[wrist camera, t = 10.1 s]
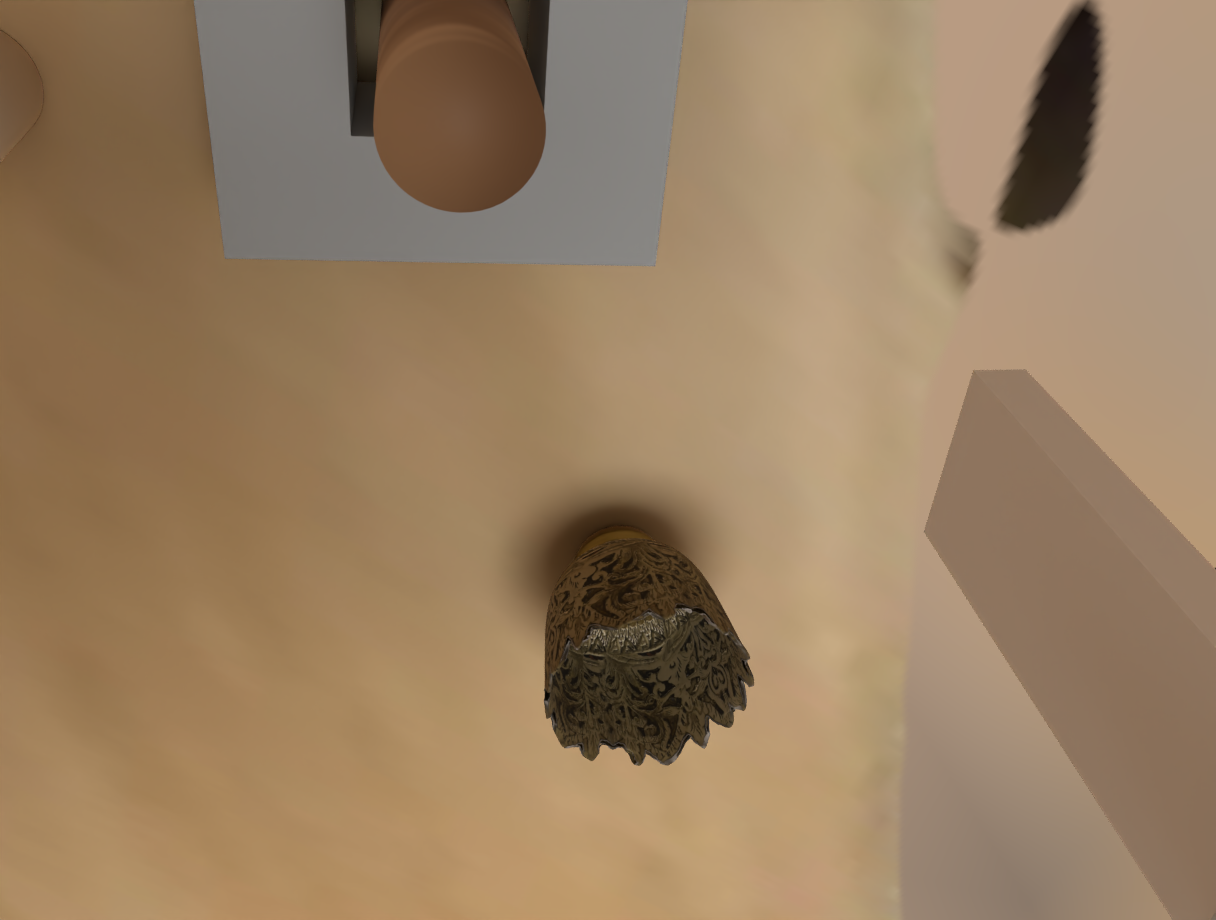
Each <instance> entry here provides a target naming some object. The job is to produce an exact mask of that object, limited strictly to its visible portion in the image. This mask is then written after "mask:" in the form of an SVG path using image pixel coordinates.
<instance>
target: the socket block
mask: <svg viewBox="0 0 1216 920" xmlns="http://www.w3.org/2000/svg"><path fill="white" fill-rule="evenodd" d="M687 2H688V0H529V20H528V42H527V62H528V65H529V67H530V70H531V73H532V76H533V79H534V82H535V85H536V88H537V90H538V93H539V96H540V99H541V102H542V106H543V109H544V113H545V120H546V139H545V146H544V150H543V154H542V157H541V159H540V162H539V164H538V167H537V168H536V170H535V172H534V174H533V175H532V177H531V178H530V179H529V181H528V182H527V183H526V184H525V185H524V186H523V187H522V189H521V190H520V191H519V192H517V193H516V194H515V195H513V196H512V197H511V198H509V199H508V200H506V201H504V202H503V203H501V204H499V205H496V206H494V207H492V208H488V209H485V210H482V211H476V212H466V213H457V212H448V211H443V210H438V209H435V208H433V207H430V206H427V205H425V204H423V203H421V202H419V201H417V200H416V199H414V198H413V197H411V196H410V195H408V194H407V193H406V192H405V191H404V190H402V189H401V188H400V187H399V186H398V185H397V184H396V183H395V181H394V180H393V179H392V178H391V176H390V175H389V174H388V172H387V171H386V169H385V167H384V165H383V163H382V162H381V159H380V157H379V154H378V151H377V148H376V144H375V140H374V131H373V118H374V103H375V90H376V82H358V78H357V54H356V30H355V6H354V0H194V7H195V15H196V23H197V32H198V40H199V48H200V57H201V65H202V73H203V82H204V90H205V98H206V106H207V115H208V123H209V131H210V140H211V148H212V156H213V165H214V173H215V181H216V189H217V198H218V206H219V214H220V223H221V231H222V239H223V248H224V256H225V259H276V260H333V261H389V262H446V263H503V264H560V265H617V266H655V264H656V256H657V247H658V239H659V231H660V223H661V215H662V206H663V198H664V190H665V182H666V174H667V166H668V157H669V149H670V141H671V133H672V125H673V116H674V108H675V100H676V92H677V84H678V75H679V67H680V59H681V51H682V43H683V34H684V26H685V18H686V10H687Z"/></svg>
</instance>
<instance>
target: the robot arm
mask: <svg viewBox="0 0 1216 920" xmlns="http://www.w3.org/2000/svg"><path fill="white" fill-rule="evenodd" d="M924 532H925V534H926V536H927V537H928V539H929V540H930V542H931V544H932V545H933V547H934V548H935V550H936V551H937V553H938V555H939V556H940V558H941V559H942V561H943V562H944V564H945V565H946V567H947V569H948V570H949V572H950V573H951V575H952V576H953V578H954V579H955V581H956V583H957V584H958V586H959V587H960V589H961V590H962V592H963V594H964V595H965V596H966V598H967V599H968V601H969V603H970V604H971V606H972V608H973V609H974V611H975V612H976V614H977V615H978V617H979V619H980V620H981V622H982V623H983V625H984V626H985V628H986V629H987V631H988V633H989V634H990V636H991V637H992V639H993V640H994V642H995V643H996V645H997V647H998V648H999V650H1000V651H1001V653H1002V654H1003V656H1004V657H1005V659H1006V660H1007V662H1008V663H1009V665H1010V667H1011V668H1012V669H1013V672H1014V673H1015V675H1016V676H1017V678H1018V679H1019V681H1020V682H1021V684H1022V686H1023V687H1024V689H1025V690H1026V692H1027V693H1028V695H1029V696H1030V698H1031V700H1032V701H1033V703H1034V704H1035V706H1036V707H1037V709H1038V711H1039V712H1040V714H1041V715H1042V717H1043V718H1044V720H1045V721H1046V723H1047V725H1048V726H1049V728H1050V729H1051V731H1052V732H1053V734H1054V736H1055V737H1056V739H1057V740H1058V742H1059V743H1060V745H1061V746H1062V748H1063V749H1064V751H1065V752H1066V754H1067V756H1068V757H1069V759H1070V761H1071V762H1072V764H1073V765H1074V767H1075V768H1076V769H1077V771H1078V773H1079V775H1080V776H1081V778H1082V779H1083V781H1084V782H1085V784H1086V785H1087V787H1088V789H1089V790H1090V792H1091V793H1092V795H1093V796H1094V798H1095V799H1096V801H1097V803H1098V804H1099V806H1100V807H1101V809H1102V810H1103V812H1104V814H1105V815H1106V817H1107V818H1108V820H1109V821H1110V823H1111V824H1112V826H1113V827H1114V829H1115V830H1116V832H1117V834H1118V835H1119V837H1120V839H1121V840H1122V842H1123V843H1124V845H1125V846H1126V848H1127V849H1128V851H1129V852H1130V854H1131V856H1132V857H1133V859H1134V860H1135V862H1136V863H1137V865H1138V867H1139V868H1140V870H1141V871H1142V873H1143V874H1144V876H1145V878H1146V879H1147V881H1148V882H1149V884H1150V885H1151V887H1152V888H1153V890H1154V892H1155V893H1156V895H1157V896H1158V898H1159V899H1160V901H1161V902H1162V904H1163V906H1164V907H1165V909H1166V910H1167V912H1168V913H1169V915H1170V916H1171V918H1172V920H1216V568H1214V567H1213V566H1212V565H1211V564H1210V563H1209V562H1208V561H1207V560H1206V559H1205V558H1204V557H1203V555H1202V554H1201V553H1199V551H1198V550H1197V549H1196V548H1195V547H1194V546H1193V545H1192V544H1191V543H1190V542H1189V541H1188V540H1187V539H1186V538H1185V537H1184V536H1183V534H1181V532H1180V531H1179V530H1178V529H1177V528H1176V527H1175V526H1174V525H1173V524H1172V523H1171V522H1170V521H1169V520H1168V519H1167V518H1166V517H1165V516H1164V515H1163V514H1162V512H1161V511H1160V510H1159V509H1158V508H1157V507H1156V506H1155V505H1154V504H1153V503H1152V502H1151V501H1150V500H1149V499H1148V498H1147V497H1146V496H1145V495H1144V493H1143V492H1142V491H1141V490H1140V489H1139V488H1138V487H1137V486H1136V485H1135V484H1134V483H1133V482H1132V481H1131V480H1130V479H1129V478H1128V477H1127V476H1126V475H1125V473H1124V472H1123V471H1122V470H1121V469H1120V468H1119V467H1118V466H1117V465H1116V464H1115V463H1114V462H1113V461H1112V460H1111V459H1110V458H1109V457H1108V456H1107V455H1106V454H1105V452H1103V450H1102V449H1101V448H1100V447H1099V446H1098V445H1097V444H1096V443H1095V442H1094V441H1093V440H1092V439H1091V438H1090V437H1089V436H1088V435H1087V434H1086V432H1084V430H1082V428H1081V427H1080V426H1079V425H1078V424H1077V423H1076V422H1075V421H1074V420H1073V419H1072V418H1071V417H1070V416H1069V415H1068V414H1067V413H1066V411H1065V410H1064V409H1062V407H1061V406H1060V405H1059V404H1058V403H1057V402H1056V401H1055V400H1054V399H1053V398H1052V397H1051V396H1050V395H1049V394H1048V393H1047V392H1046V390H1044V388H1043V387H1042V386H1041V385H1040V384H1039V383H1038V382H1037V381H1036V380H1035V379H1034V378H1033V377H1032V376H1031V375H1030V374H1029V373H1028V372H1027V370H1025V369H1024V370H973V373H972V376H971V379H970V383H969V386H968V389H967V393H966V396H965V399H964V402H963V406H962V409H961V412H960V416H959V419H958V422H957V425H956V428H955V432H954V435H953V438H952V442H951V445H950V448H949V451H948V455H947V458H946V461H945V465H944V468H943V471H942V474H941V477H940V481H939V484H938V487H937V491H936V494H935V497H934V500H933V504H932V507H931V510H930V513H929V517H928V520H927V523H926V526H925V530H924Z"/></svg>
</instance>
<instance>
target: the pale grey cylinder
mask: <svg viewBox="0 0 1216 920" xmlns="http://www.w3.org/2000/svg"><path fill="white" fill-rule="evenodd" d="M43 101H44V91H43V84H42V81H41V77H40V74H39V72H38V70H37V68H36V66H35V64H34V62H33V60H32V59H31V58H30V56H29V55H28V53H27V52H26V51H25V50H24V49H23V48H22V46H20V45H19V44H18V43H17V42H16V41H15V40H14V39H13V38H11V37H10V36H9V35H7V34H6V33H4V32H3V31H1V30H0V162H1V161H2V160H3V159H4V158H5V157H6V156H7V154H8V153H9V152H10V151H11V150H12V149H13V148H14V146H15V145H16V144H17V143H18V142H19V141H20V140H21V139H22V137H23V136H24V135H25V134H26V133H27V132H28V131H29V130H30V128H31V127H32V126H33V125H34V124H35V122H36V121H37V119H38V117H39V116H40V113H41V110H42V107H43Z"/></svg>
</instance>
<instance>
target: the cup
mask: <svg viewBox="0 0 1216 920" xmlns="http://www.w3.org/2000/svg"><path fill="white" fill-rule="evenodd" d="M749 659H750V656H749V654H748V652H747V650H746V649H745V647H744V646H743V645H742V643H741V641H740V639H739V637H738V636H737V634H736V632H735V630H734V628H733V626H732V624H731V622H730V620H729V618H728V616H727V615H726V613H725V611H724V609H723V607H722V605H721V604H720V602H719V600H718V598H717V596H716V595H715V593H714V591H713V589H712V588H711V586H710V585H709V583H708V582H707V580H706V579H705V577H704V576H703V575H702V573H701V572H700V571H699V569H698V568H697V567H696V566H695V565H694V564H693V563H692V562H691V561H690V560H689V559H688V558H687V557H685V556H684V555H683V554H681V553H680V552H679V551H677V550H675V549H674V548H672V547H670V546H668V545H665V544H663V543H660V542H657V541H654V540H653V539H652V538H651V537H650V536H649V535H648V534H646V533H645V532H643V531H641V530H639V529H637V528H634V527H630V526H612V527H607V528H604V529H602V530H599V531H597V532H595V533H594V534H592V535H591V536H590V537H588V538H587V539H586V540H585V541H584V542H583V544H582V545H581V546H580V548H579V550H578V552H577V554H576V557H575V560H574V561H573V562H572V564H571V565H570V566H569V567H568V568H567V569H566V570H565V571H564V573H563V574H562V575H561V577H560V579H559V580H558V582H557V584H556V586H555V588H554V591H553V593H552V596H551V599H550V603H549V607H548V612H547V620H546V631H545V689H544V691H545V698H544V705H545V713H546V718H547V719H548V718H550V717H551V720H552V726H553V730H554V732H555V734H556V736H557V738H558V740H559V742H560V744H561V745H562V746H563V747H564V748H571V747H580V751H581V754H582V755H583V756H584V757H585V758H587V759H589V760H590V761H593V760H594V759H595V758H596V757H597V755H598V754H599V748H600V746H601V745H607V746H608V747H609V748H610V749H612V750H613V749H616V748H618V747H619V748H621V747H622V748H624V750H625V751H626V752H627V753H628V754H629V756H630V758H631V761H632V763H633V764H634V765H638V766H640V765H641V764H642V763H643V761H644V759H645V754H648V755H650V756H651V757H652V758H653V759H655V760H657V761H658V762H660V764H663V765H670V764H671V763H673V762H674V761H675V760H676V759H677V757H678V756H679V755H680V753H681V751H682V749H683V747H684V745H685V743H686V742H687V740H689V739H690V737H692V738H691V739H692V740H693V741H694V742H695V743H696V744H698V745H699V746H701V747H702V748H704V749H705V748H706V746H707V743H708V739H709V736H710V731H709V719H711V720H712V721H713V722H715V723H716V724H718V725H719V724H720V725H722V726H724V727H727V728H730V727H731V726H732V725H733V722H734V715H733V712H734V711H735V709H738V710H742V711H744V710H745V709H746V703H747V698H746V690H745V685H744V682H745V683H746V684H747V685H748V687H752V686H754V678H753V675H752V672H751V670H750V668H749V666H748V663H747V660H749ZM600 743H601V745H600Z"/></svg>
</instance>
